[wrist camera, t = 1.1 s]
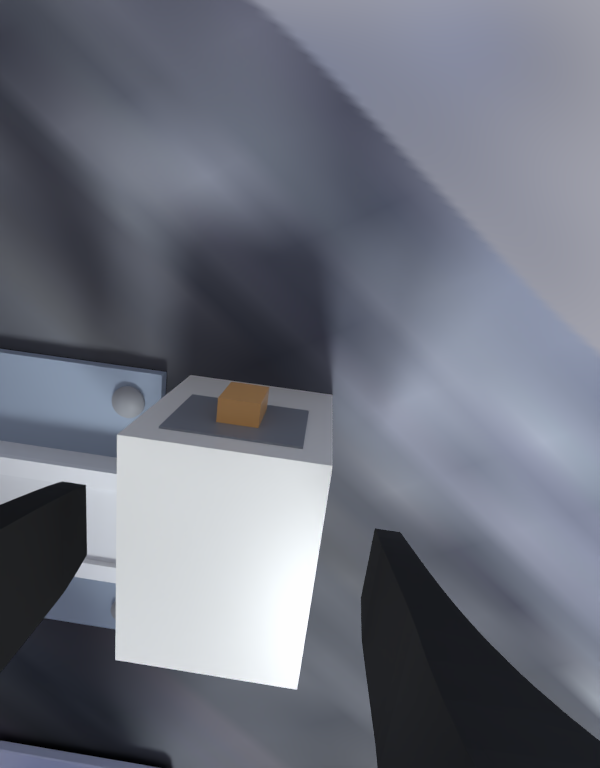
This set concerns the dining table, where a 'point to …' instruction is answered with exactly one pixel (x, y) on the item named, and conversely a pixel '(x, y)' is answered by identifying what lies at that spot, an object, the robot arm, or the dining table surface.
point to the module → (221, 528)
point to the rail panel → (73, 454)
